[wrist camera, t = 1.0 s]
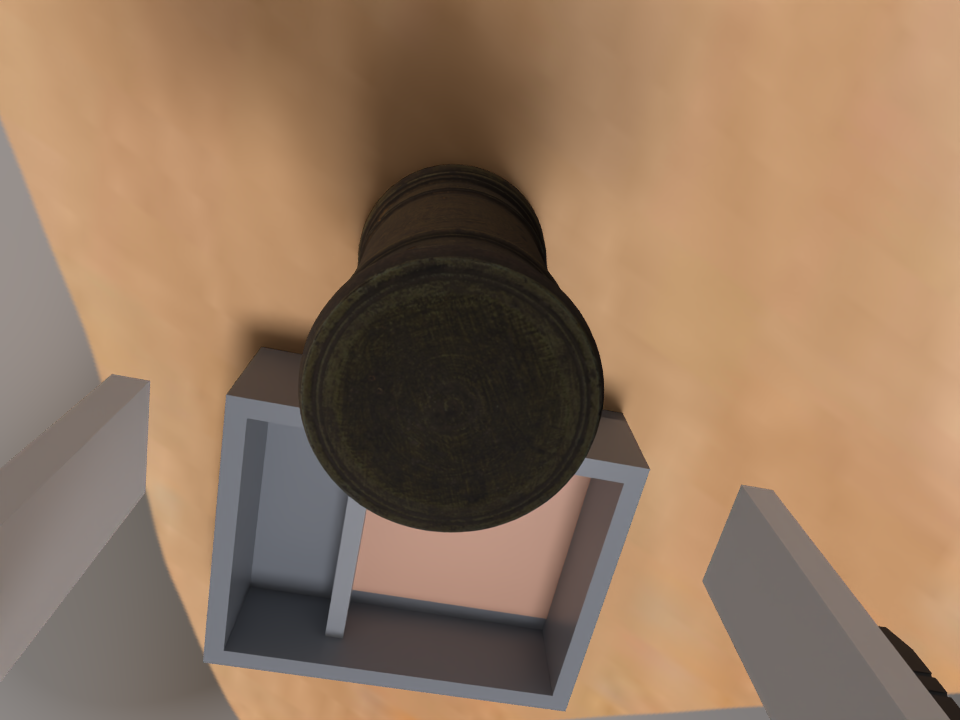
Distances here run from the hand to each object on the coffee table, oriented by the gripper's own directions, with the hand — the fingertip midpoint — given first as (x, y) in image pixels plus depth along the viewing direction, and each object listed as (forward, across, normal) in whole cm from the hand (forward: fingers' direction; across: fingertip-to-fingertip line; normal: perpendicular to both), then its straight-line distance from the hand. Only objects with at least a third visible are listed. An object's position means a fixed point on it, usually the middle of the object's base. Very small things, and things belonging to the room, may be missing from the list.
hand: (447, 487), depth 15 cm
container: (+22, 0, 0) cm, 22 cm away
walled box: (+22, +1, -15) cm, 26 cm away
